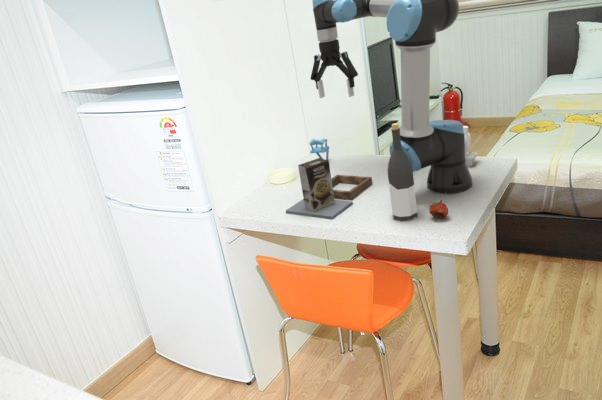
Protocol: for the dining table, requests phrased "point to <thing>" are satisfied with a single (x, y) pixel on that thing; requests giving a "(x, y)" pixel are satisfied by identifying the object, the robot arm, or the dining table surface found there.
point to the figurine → (468, 155)
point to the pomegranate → (438, 210)
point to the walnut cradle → (358, 180)
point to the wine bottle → (401, 181)
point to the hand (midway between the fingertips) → (336, 96)
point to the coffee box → (316, 184)
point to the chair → (320, 149)
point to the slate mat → (326, 212)
